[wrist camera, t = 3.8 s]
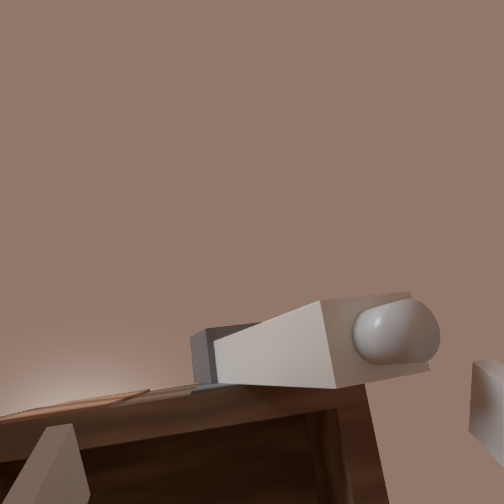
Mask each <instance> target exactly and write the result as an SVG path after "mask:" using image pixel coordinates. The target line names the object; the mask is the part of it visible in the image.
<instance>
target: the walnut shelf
mask: <svg viewBox="0 0 504 504" xmlns="http://www.w3.org/2000/svg"><path fill="white" fill-rule="evenodd" d="M71 423H72V424H73V428H74V432H75V436H76V440H77V444H78V448H79V452H80V456H81V459H82V463H83V467H84V471H85V475H86V479H87V483H88V487H89V491H90V497H89V500H88V503H87V504H389V500H388V496H387V490H386V486H385V481H384V476H383V471H382V466H381V461H380V457H379V452H378V447H377V442H376V437H375V433H374V428H373V424H372V418H371V413H370V408H369V404H368V399H367V395H366V389H365V384H359V385H354V386H349V387H344V388H338V389H329V388H309V387H289V386H269V385H248V384H228V383H215V384H202V383H200V384H193V385H187V386H180V387H174V388H167V389H161V390H154V391H150V390H149V389H148V390H142V391H136V392H129V393H122V394H116V395H108V396H102V397H95V398H89V399H82V400H75V401H69V402H66V403H61V404H57V405H53V406H48V407H42V408H35V409H31V410H27V411H23V412H18V413H14V414H10V415H6V416H2V417H0V504H2V503H3V501H4V499H5V498H6V496H7V494H8V493H9V491H10V489H11V487H12V486H13V484H14V482H15V481H16V479H17V477H18V475H19V474H20V472H21V470H22V469H23V467H24V465H25V463H26V462H27V460H28V458H29V457H30V455H31V453H32V451H33V450H34V448H35V446H36V445H37V443H38V441H39V439H40V438H41V436H42V434H43V433H44V431H45V429H46V427H51V426H58V425H64V424H71Z"/></svg>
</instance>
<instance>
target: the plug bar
mask: <svg viewBox="0 0 504 504" xmlns="http://www.w3.org/2000/svg"><path fill="white" fill-rule="evenodd" d="M190 344H191V354H192V364H193V375H194V383H202V384H215V383H228V384H248V385H269V386H289V387H309V388H329V389H338V388H344V387H349V386H354V385H359V384H364V383H369V382H374V381H380V380H385V379H390V378H396V377H401V376H406V375H411V374H416V373H422V372H427V371H430V368H429V364H428V361H429V360H430V359H431V358H432V357H433V356H434V355H435V354H436V352H437V350H438V348H439V344H440V330H439V326H438V323H437V321H436V318H435V316H434V315H433V313H432V312H431V311H430V309H429V308H428V307H426V305H424V304H423V303H421V302H419V301H417V300H414V299H412V297H411V293H410V291H408V292H398V293H388V294H378V295H368V296H359V297H348V298H339V299H329V300H319V301H317V302H314V303H311V304H309V305H306V306H304V307H301V308H299V309H296V310H293V311H291V312H288V313H286V314H283V315H280V316H278V317H275V318H273V319H270V320H268V321H265V322H259V323H251V324H242V325H234V326H225V327H216V328H208V329H204V330H202V331H200V332H199V333H197V334H195V335H193V336H192V337H190Z"/></svg>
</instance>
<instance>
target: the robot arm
mask: <svg viewBox="0 0 504 504" xmlns="http://www.w3.org/2000/svg"><path fill="white" fill-rule="evenodd" d="M469 419H470V420H469V432H470V433H471V434H472V435H473V436H474V437H475V438H476V439H477V440H478V441H479V442H480V443H481V444H482V445H483V446H484V448H486V450H487V451H488V452H489V453H490V454H491V455H492V456H493V457H494V458H495V459H496V460H497V461H498V462H499V463H500V464H501V466H502V467H503V468H504V365H502V364H501V363H499V362H498V361H497V360H495V359H489V360H482V361H475V362H473V367H472V384H471V401H470V418H469ZM89 497H90V491H89V487H88V483H87V479H86V475H85V471H84V467H83V463H82V459H81V456H80V452H79V448H78V444H77V440H76V436H75V432H74V428H73V424H72V423H71V424H64V425H58V426H51V427H46V429H45V431H44V433H43V434H42V436H41V438H40V439H39V441H38V443H37V445H36V446H35V448H34V450H33V451H32V453H31V455H30V457H29V458H28V460H27V462H26V463H25V465H24V467H23V469H22V470H21V472H20V474H19V475H18V477H17V479H16V481H15V482H14V484H13V486H12V487H11V489H10V491H9V493H8V494H7V496H6V498H5V499H4V501H3V503H2V504H87V503H88V500H89Z"/></svg>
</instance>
